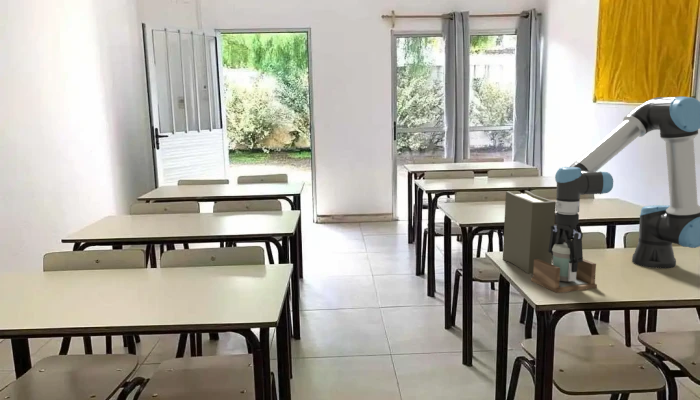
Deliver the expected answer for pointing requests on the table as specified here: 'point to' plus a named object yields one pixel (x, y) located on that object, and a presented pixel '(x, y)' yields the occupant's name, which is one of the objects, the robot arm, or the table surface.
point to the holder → (550, 278)
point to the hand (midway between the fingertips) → (563, 277)
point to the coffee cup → (562, 259)
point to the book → (527, 229)
